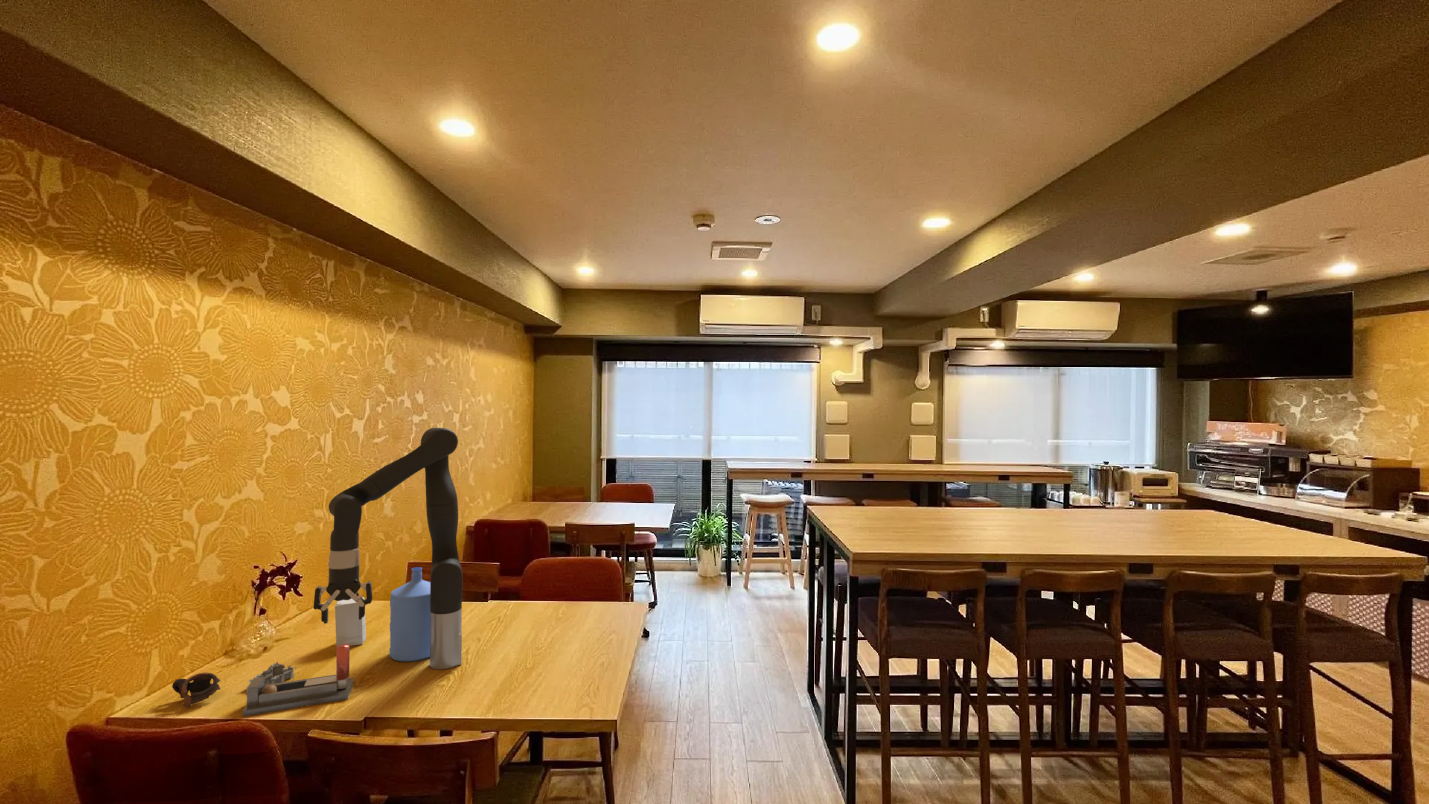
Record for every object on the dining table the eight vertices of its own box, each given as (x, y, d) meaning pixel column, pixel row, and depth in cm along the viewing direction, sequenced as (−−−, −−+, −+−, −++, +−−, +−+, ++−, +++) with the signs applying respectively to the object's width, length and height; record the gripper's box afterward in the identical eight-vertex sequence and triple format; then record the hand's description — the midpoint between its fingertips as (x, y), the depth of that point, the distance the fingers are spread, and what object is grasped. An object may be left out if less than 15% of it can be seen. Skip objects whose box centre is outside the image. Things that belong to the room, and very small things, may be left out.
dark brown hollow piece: (229, 690, 175) (228, 671, 171) (205, 720, 166) (204, 701, 163) (183, 682, 173) (182, 663, 169) (157, 712, 164) (155, 692, 161)
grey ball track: (353, 682, 179) (353, 660, 179) (347, 699, 169) (348, 676, 169) (254, 697, 169) (254, 674, 169) (242, 716, 159) (242, 692, 159)
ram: (350, 681, 176) (350, 642, 176) (348, 687, 172) (348, 647, 172) (307, 688, 172) (307, 648, 172) (303, 694, 168) (304, 653, 168)
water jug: (421, 664, 192) (421, 576, 192) (378, 660, 195) (378, 573, 195) (451, 645, 207) (452, 563, 207) (411, 641, 210) (412, 561, 210)
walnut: (278, 694, 169) (278, 681, 169) (275, 700, 165) (275, 686, 165) (262, 696, 167) (262, 683, 167) (259, 702, 164) (259, 689, 164)
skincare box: (366, 638, 212) (366, 596, 212) (362, 645, 206) (363, 601, 206) (338, 641, 209) (338, 598, 209) (334, 648, 203) (334, 604, 203)
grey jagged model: (278, 674, 185) (278, 660, 185) (299, 676, 183) (299, 663, 183) (245, 690, 174) (245, 675, 174) (266, 692, 173) (267, 678, 173)
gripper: (374, 558, 180) (373, 613, 180) (317, 563, 174) (316, 619, 174) (371, 565, 173) (370, 621, 173) (312, 570, 167) (311, 628, 167)
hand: (343, 620), depth 173 cm, fingers open, 8 cm apart
